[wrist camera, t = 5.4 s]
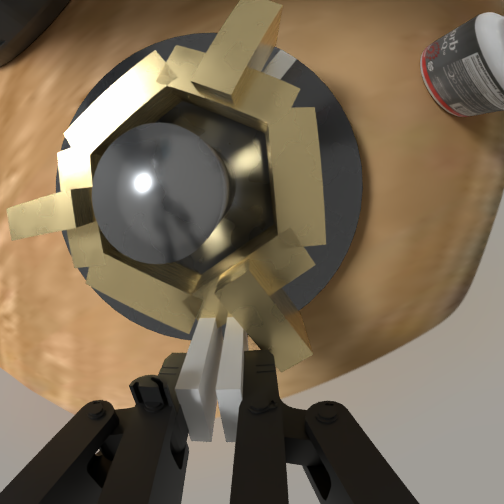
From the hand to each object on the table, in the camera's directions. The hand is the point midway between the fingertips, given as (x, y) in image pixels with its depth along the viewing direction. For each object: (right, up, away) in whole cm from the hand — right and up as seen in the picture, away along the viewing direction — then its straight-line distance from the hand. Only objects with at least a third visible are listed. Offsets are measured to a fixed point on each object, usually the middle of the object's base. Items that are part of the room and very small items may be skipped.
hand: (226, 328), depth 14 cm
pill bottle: (+15, +16, -1) cm, 22 cm away
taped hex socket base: (-1, +6, 0) cm, 6 cm away
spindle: (-2, +8, +1) cm, 8 cm away
